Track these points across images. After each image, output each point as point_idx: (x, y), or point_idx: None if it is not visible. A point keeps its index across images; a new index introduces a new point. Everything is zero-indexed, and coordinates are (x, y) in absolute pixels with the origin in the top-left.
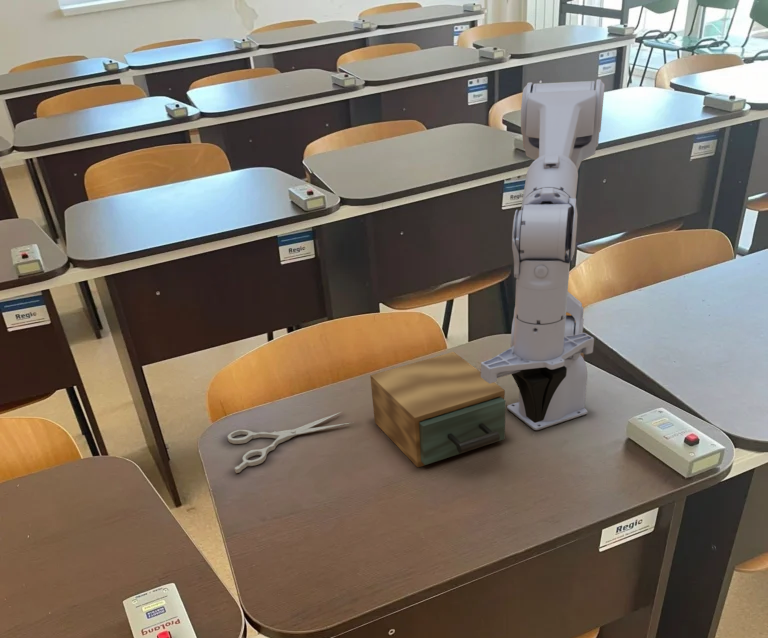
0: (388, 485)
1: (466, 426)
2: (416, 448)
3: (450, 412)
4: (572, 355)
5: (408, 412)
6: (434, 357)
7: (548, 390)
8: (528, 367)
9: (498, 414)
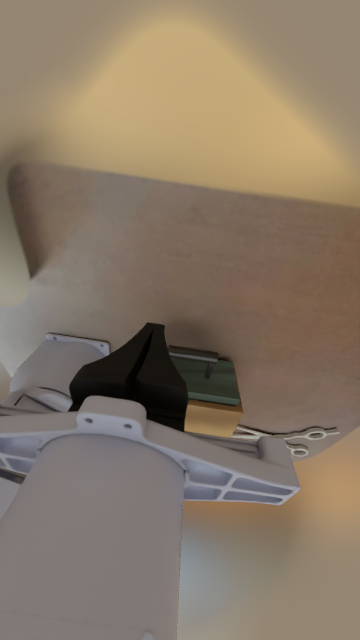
0: (272, 361)
1: (186, 377)
2: (236, 380)
3: (191, 399)
4: (26, 408)
5: (238, 420)
6: None
7: (134, 357)
8: (192, 441)
9: None
